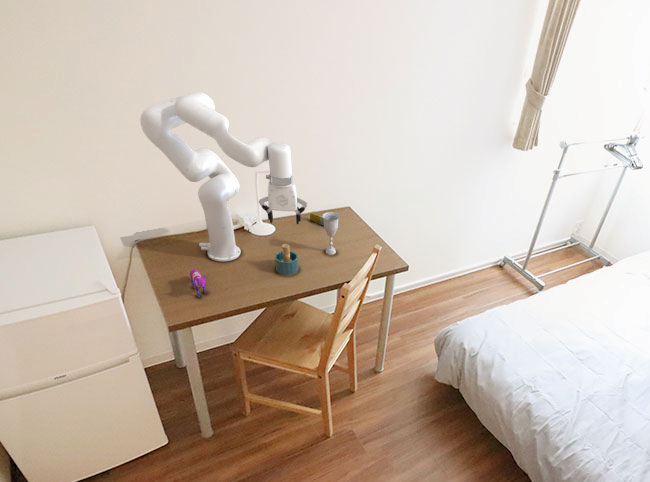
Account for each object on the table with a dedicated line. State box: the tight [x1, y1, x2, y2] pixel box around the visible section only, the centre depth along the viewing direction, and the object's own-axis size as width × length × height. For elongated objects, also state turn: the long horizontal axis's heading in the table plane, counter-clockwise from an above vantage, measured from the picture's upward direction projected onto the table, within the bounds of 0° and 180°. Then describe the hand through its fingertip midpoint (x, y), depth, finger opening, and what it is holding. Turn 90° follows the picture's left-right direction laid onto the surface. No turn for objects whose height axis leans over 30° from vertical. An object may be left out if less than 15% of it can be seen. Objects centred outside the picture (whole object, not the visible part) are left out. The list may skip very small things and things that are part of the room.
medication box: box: [309, 211, 324, 226], centre depth 220 cm, size 12×3×4 cm, turn 68°
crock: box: [274, 250, 299, 276], centre depth 186 cm, size 9×9×6 cm
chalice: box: [322, 211, 340, 255], centre depth 197 cm, size 7×7×18 cm
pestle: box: [281, 243, 292, 262], centre depth 184 cm, size 4×4×11 cm
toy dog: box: [189, 268, 207, 299], centre depth 167 cm, size 4×18×10 cm, turn 37°
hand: (284, 222), depth 175 cm, fingers open, 9 cm apart
